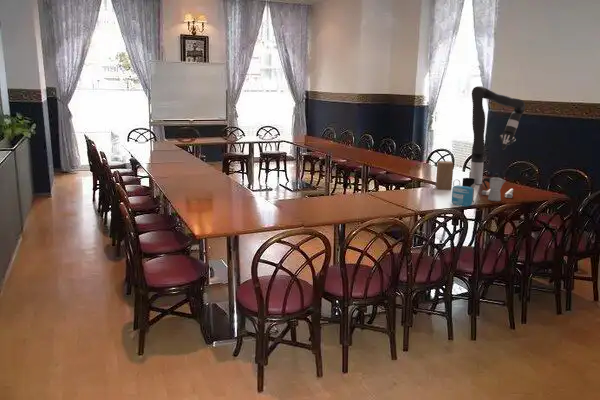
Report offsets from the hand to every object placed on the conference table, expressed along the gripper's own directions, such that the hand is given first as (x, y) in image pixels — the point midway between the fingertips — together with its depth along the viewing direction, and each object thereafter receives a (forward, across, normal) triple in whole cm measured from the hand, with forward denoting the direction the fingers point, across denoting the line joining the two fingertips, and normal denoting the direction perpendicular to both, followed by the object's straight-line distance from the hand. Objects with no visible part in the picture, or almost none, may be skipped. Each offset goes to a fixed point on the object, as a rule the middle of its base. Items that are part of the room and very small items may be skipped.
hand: (503, 149), depth 362 cm
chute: (+32, +11, -5) cm, 34 cm away
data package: (+51, +10, -55) cm, 75 cm away
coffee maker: (+40, +16, -27) cm, 51 cm away
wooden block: (+42, -26, -16) cm, 51 cm away
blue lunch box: (+47, +4, -42) cm, 64 cm away
